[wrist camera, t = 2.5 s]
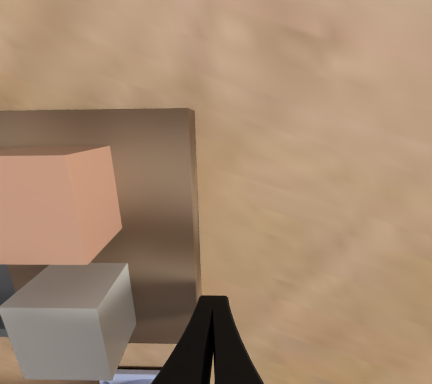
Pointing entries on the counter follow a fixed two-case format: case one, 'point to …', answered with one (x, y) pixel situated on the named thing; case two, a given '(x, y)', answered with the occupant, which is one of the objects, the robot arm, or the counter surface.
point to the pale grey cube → (71, 321)
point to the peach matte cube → (56, 204)
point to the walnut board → (135, 204)
